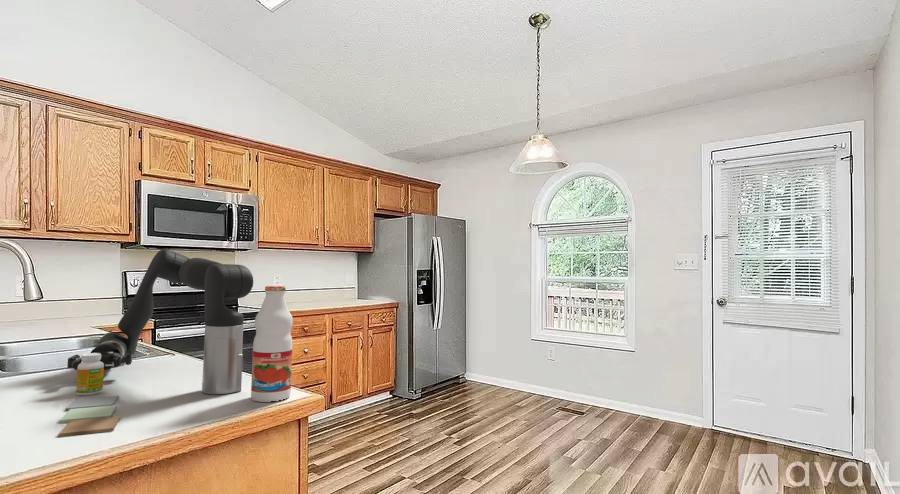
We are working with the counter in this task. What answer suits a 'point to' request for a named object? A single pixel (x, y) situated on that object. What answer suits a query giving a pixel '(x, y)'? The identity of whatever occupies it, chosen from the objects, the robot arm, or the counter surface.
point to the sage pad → (88, 413)
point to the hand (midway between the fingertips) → (96, 364)
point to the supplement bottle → (90, 375)
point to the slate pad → (93, 402)
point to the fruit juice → (272, 348)
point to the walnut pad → (90, 426)
